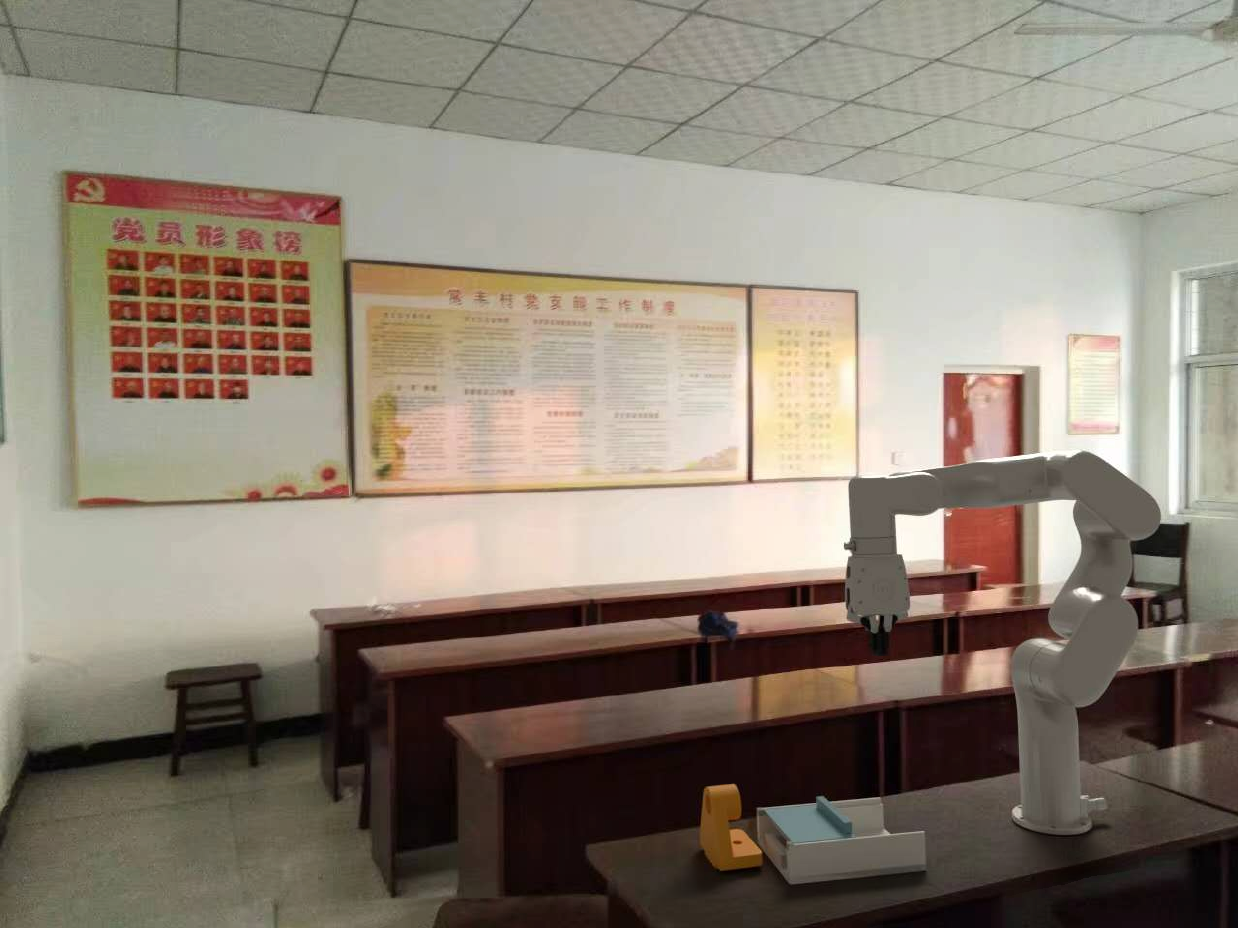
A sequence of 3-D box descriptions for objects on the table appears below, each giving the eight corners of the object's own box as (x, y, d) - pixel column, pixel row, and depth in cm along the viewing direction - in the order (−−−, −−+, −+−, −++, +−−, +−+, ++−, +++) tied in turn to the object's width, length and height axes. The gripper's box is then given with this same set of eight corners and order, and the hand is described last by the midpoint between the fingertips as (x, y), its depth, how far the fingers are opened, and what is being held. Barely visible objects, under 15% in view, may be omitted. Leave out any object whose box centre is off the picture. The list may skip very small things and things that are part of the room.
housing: (881, 831, 159) (879, 796, 160) (926, 870, 144) (924, 831, 144) (757, 843, 156) (756, 807, 156) (790, 884, 140) (788, 844, 140)
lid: (820, 809, 157) (820, 793, 157) (855, 841, 143) (855, 824, 143) (764, 814, 155) (763, 798, 155) (793, 847, 141) (792, 830, 141)
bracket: (764, 870, 146) (762, 793, 146) (720, 875, 144) (718, 798, 144) (741, 844, 156) (739, 772, 156) (700, 849, 155) (698, 777, 155)
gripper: (841, 551, 154) (847, 662, 154) (925, 546, 156) (930, 655, 156) (824, 548, 161) (829, 654, 161) (904, 543, 164) (909, 647, 163)
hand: (879, 654), depth 159 cm, fingers closed
